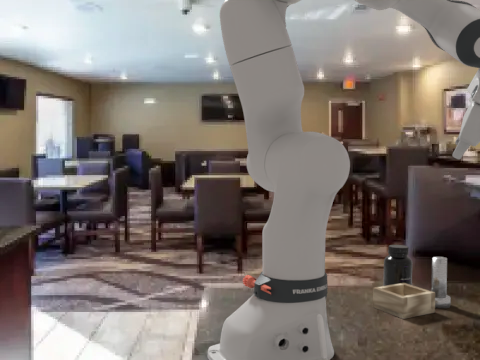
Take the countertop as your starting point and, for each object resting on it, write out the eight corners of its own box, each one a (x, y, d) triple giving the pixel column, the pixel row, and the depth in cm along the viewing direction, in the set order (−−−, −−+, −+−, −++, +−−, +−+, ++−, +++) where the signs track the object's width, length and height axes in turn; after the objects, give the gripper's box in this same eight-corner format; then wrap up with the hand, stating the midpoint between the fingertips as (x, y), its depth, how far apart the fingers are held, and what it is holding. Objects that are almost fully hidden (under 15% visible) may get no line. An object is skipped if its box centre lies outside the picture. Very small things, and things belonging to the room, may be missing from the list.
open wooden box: (402, 318, 110) (403, 298, 110) (372, 307, 119) (373, 287, 118) (434, 312, 114) (435, 292, 114) (403, 301, 123) (403, 282, 123)
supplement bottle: (407, 299, 125) (408, 249, 124) (379, 294, 129) (380, 247, 128) (415, 292, 131) (415, 245, 130) (388, 288, 134) (388, 242, 134)
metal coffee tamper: (439, 309, 117) (440, 261, 116) (422, 303, 121) (423, 257, 121) (455, 306, 119) (456, 258, 118) (438, 300, 123) (438, 255, 123)
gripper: (478, 77, 113) (446, 132, 119) (475, 93, 95) (438, 157, 101) (506, 89, 111) (473, 144, 117) (509, 108, 94) (469, 172, 100)
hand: (457, 151), depth 109 cm, fingers open, 8 cm apart
